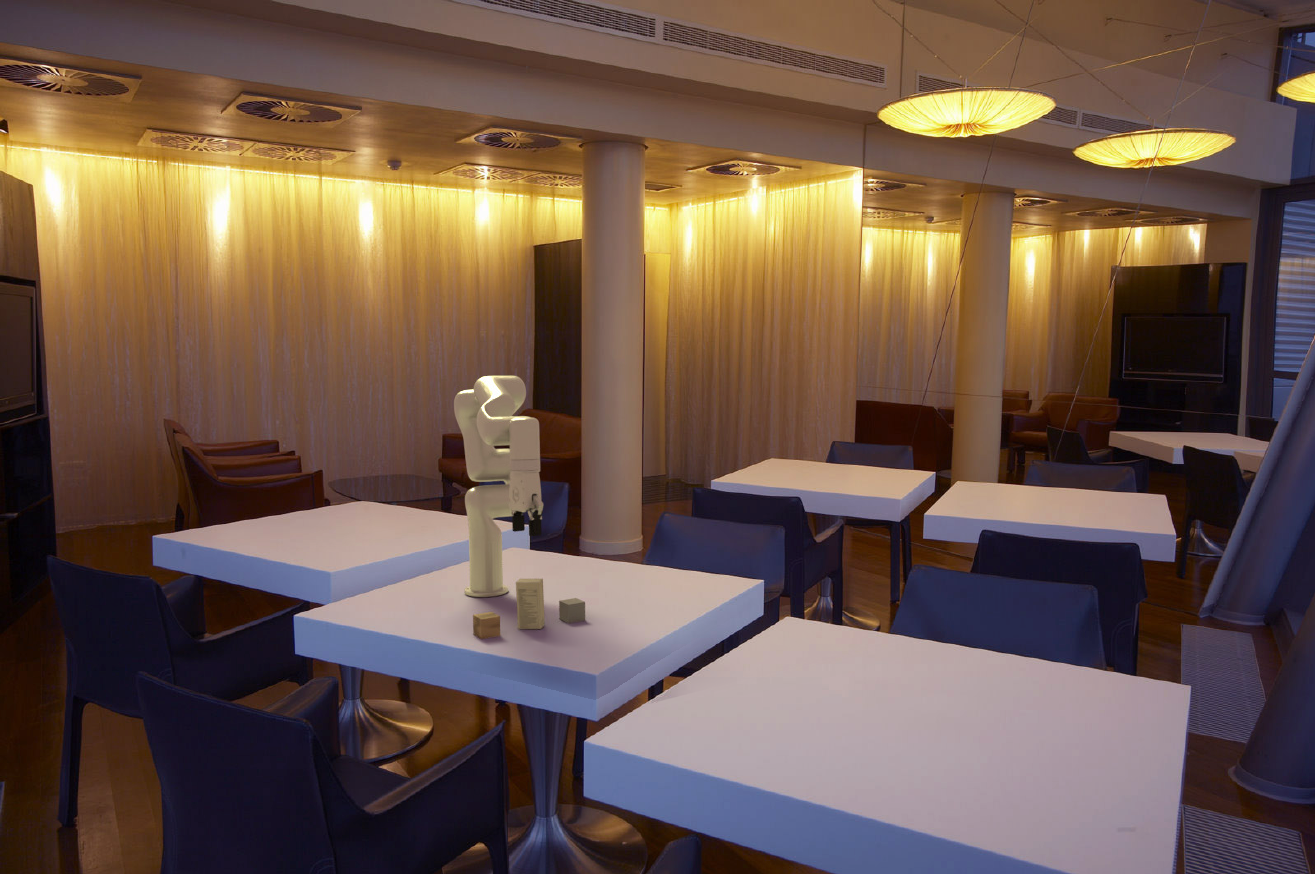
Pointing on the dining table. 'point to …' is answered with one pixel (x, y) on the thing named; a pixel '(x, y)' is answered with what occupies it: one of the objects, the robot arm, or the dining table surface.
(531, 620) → the skincare box
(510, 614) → the dining table surface
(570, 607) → the grayish brown block
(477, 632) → the walnut block
